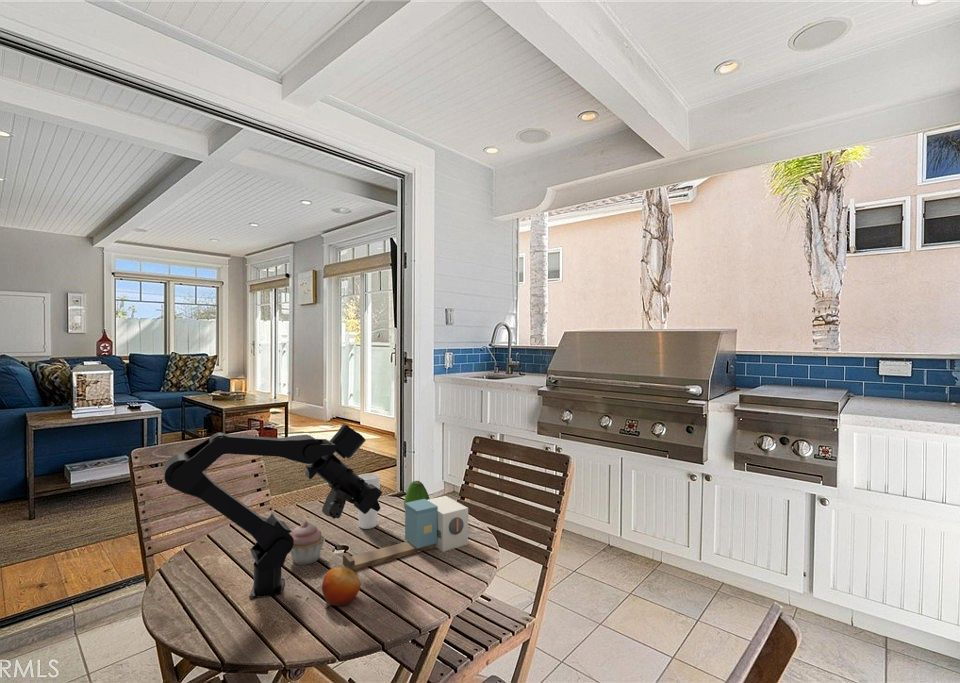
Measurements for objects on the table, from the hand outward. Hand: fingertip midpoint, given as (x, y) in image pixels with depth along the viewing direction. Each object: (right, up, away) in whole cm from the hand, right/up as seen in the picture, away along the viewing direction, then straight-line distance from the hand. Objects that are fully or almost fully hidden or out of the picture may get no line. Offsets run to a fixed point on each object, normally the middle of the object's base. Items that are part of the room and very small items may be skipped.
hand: (378, 509), depth 122 cm
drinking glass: (-8, -12, +21) cm, 25 cm away
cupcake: (-18, -13, -1) cm, 22 cm away
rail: (+3, -13, +2) cm, 13 cm away
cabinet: (+16, -13, +11) cm, 23 cm away
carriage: (+10, -11, +7) cm, 16 cm away
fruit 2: (+6, -12, +27) cm, 30 cm away
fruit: (-4, -13, -20) cm, 24 cm away
